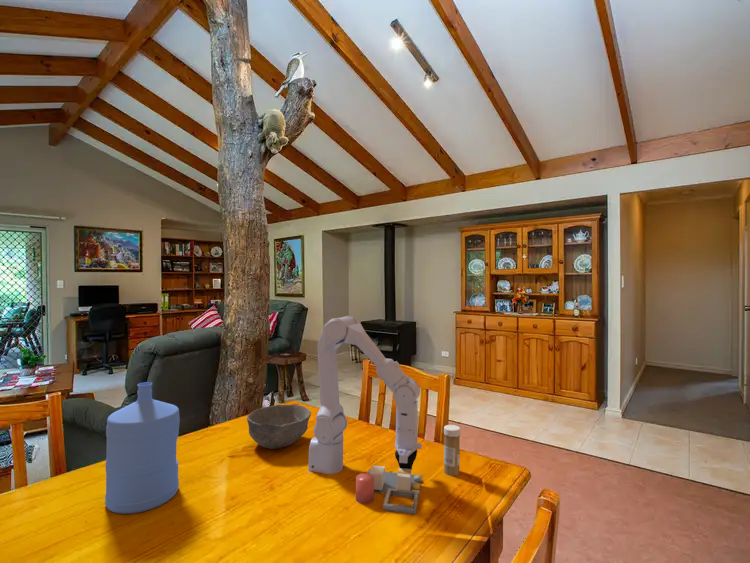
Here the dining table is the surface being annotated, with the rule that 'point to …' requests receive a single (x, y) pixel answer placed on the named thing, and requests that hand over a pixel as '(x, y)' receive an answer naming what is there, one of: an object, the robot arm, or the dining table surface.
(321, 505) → the dining table surface
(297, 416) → the bowl
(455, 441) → the sprinkles bottle
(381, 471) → the toggle
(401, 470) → the toggle
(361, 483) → the cap
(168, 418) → the water jug
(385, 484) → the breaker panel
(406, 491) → the frame
